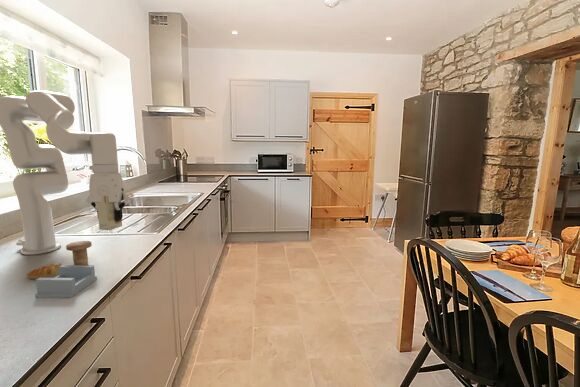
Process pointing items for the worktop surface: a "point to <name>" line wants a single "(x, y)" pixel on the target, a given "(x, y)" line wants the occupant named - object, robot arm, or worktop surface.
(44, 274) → the pastry
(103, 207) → the skincare box
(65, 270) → the grey rectangular frame
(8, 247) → the worktop surface
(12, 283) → the worktop surface
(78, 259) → the wooden mushroom
